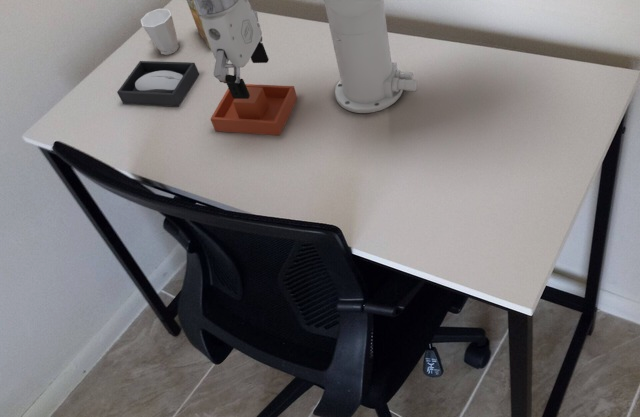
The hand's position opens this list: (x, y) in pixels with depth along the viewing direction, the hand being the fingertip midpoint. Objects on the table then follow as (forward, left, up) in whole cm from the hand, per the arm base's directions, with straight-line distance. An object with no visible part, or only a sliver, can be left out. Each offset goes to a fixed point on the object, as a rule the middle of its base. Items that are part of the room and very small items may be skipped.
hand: (251, 79), depth 116 cm
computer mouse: (+25, -5, -8) cm, 27 cm away
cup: (+31, -20, -8) cm, 38 cm away
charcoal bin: (+25, -6, -8) cm, 27 cm away
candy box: (+21, -24, -8) cm, 33 cm away
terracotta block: (+1, +1, -8) cm, 8 cm away
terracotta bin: (+1, 0, -8) cm, 8 cm away
